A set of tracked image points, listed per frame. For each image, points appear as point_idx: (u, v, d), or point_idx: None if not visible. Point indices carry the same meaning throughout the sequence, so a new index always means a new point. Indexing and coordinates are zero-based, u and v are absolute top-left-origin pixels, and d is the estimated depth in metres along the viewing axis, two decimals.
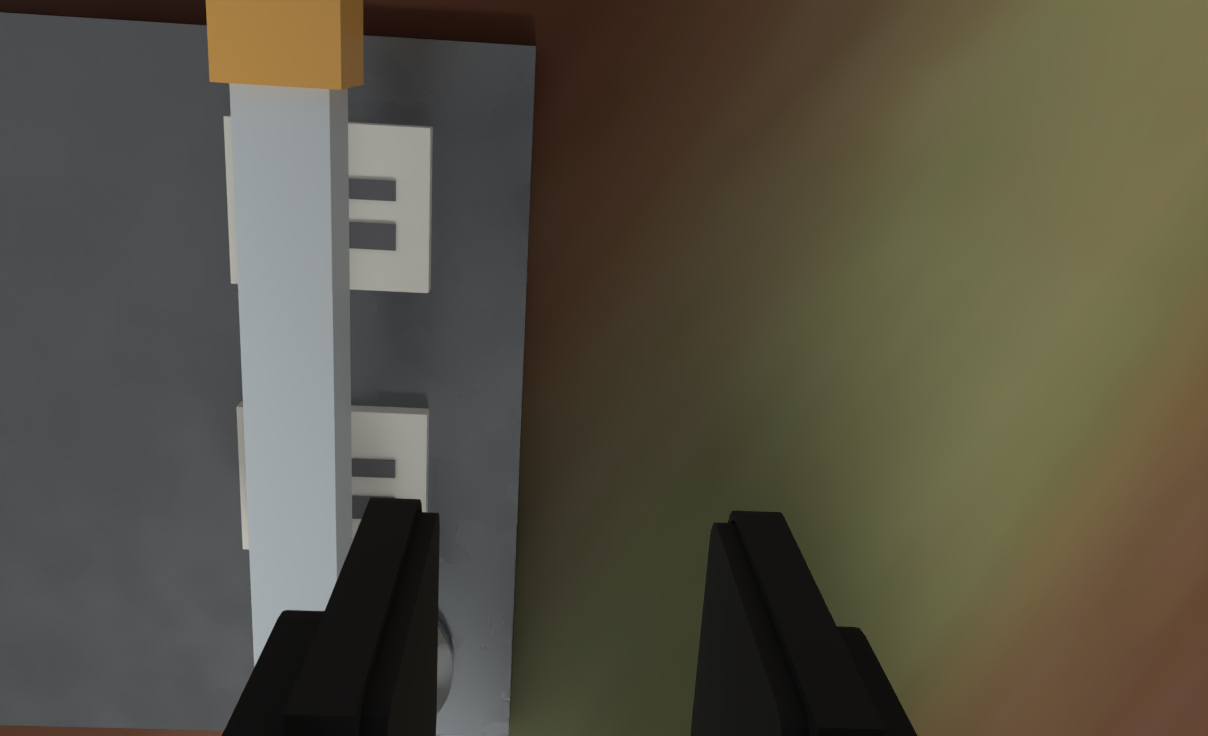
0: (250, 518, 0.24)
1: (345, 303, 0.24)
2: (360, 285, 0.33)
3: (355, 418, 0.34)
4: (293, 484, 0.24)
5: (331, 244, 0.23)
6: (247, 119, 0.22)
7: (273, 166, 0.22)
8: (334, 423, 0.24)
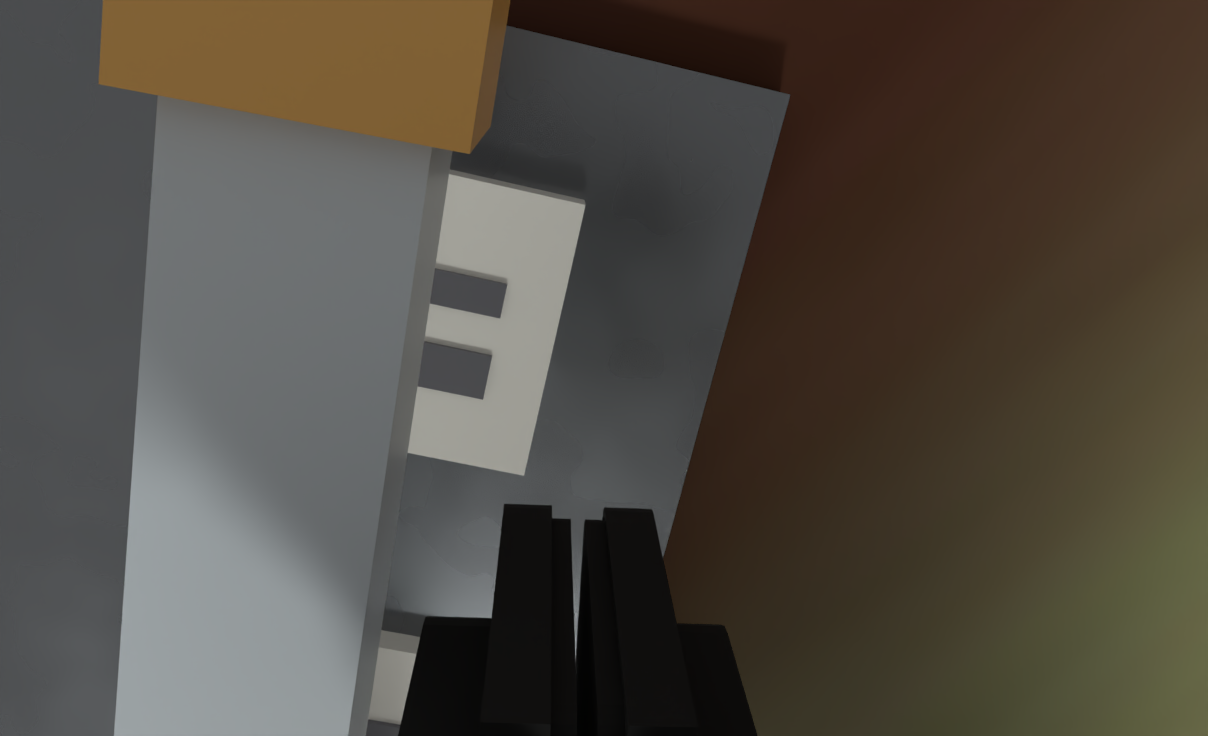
0: None
1: (379, 614, 0.11)
2: (410, 445, 0.19)
3: None
4: None
5: (376, 528, 0.09)
6: (197, 196, 0.08)
7: (252, 325, 0.08)
8: None
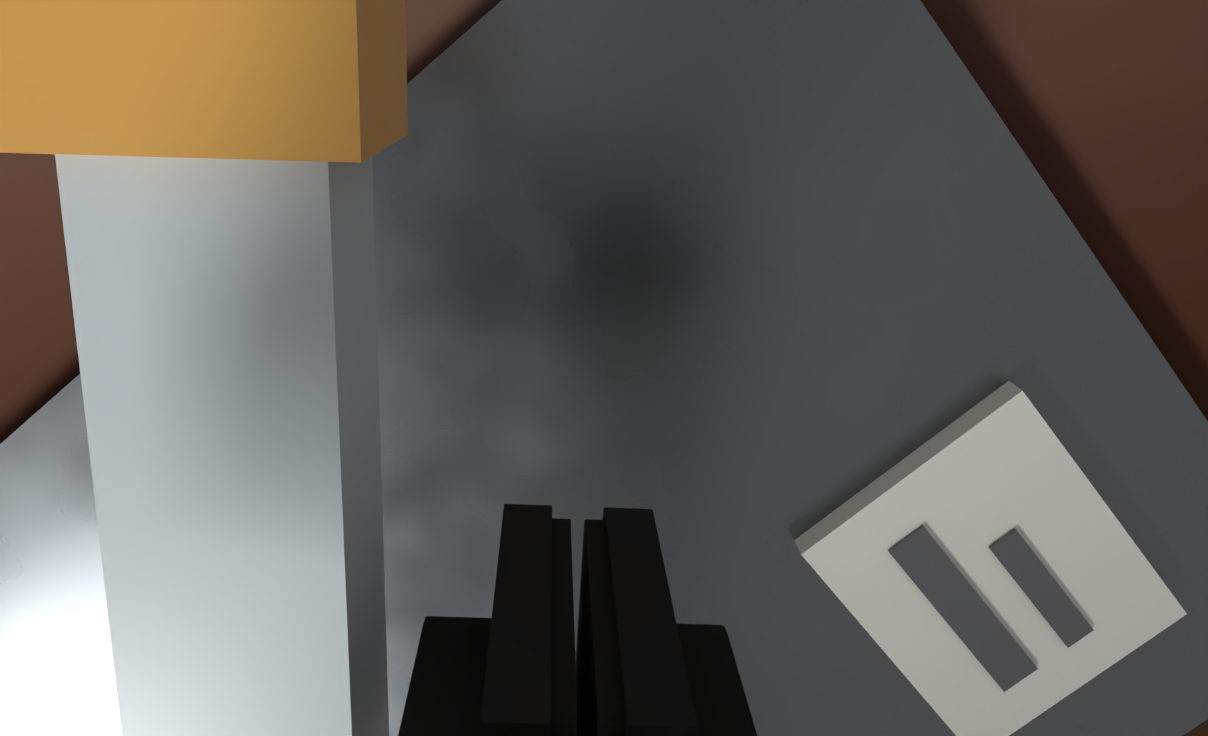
0: None
1: (377, 630, 0.11)
2: (922, 686, 0.21)
3: None
4: None
5: (343, 545, 0.09)
6: (111, 246, 0.08)
7: (186, 364, 0.08)
8: None
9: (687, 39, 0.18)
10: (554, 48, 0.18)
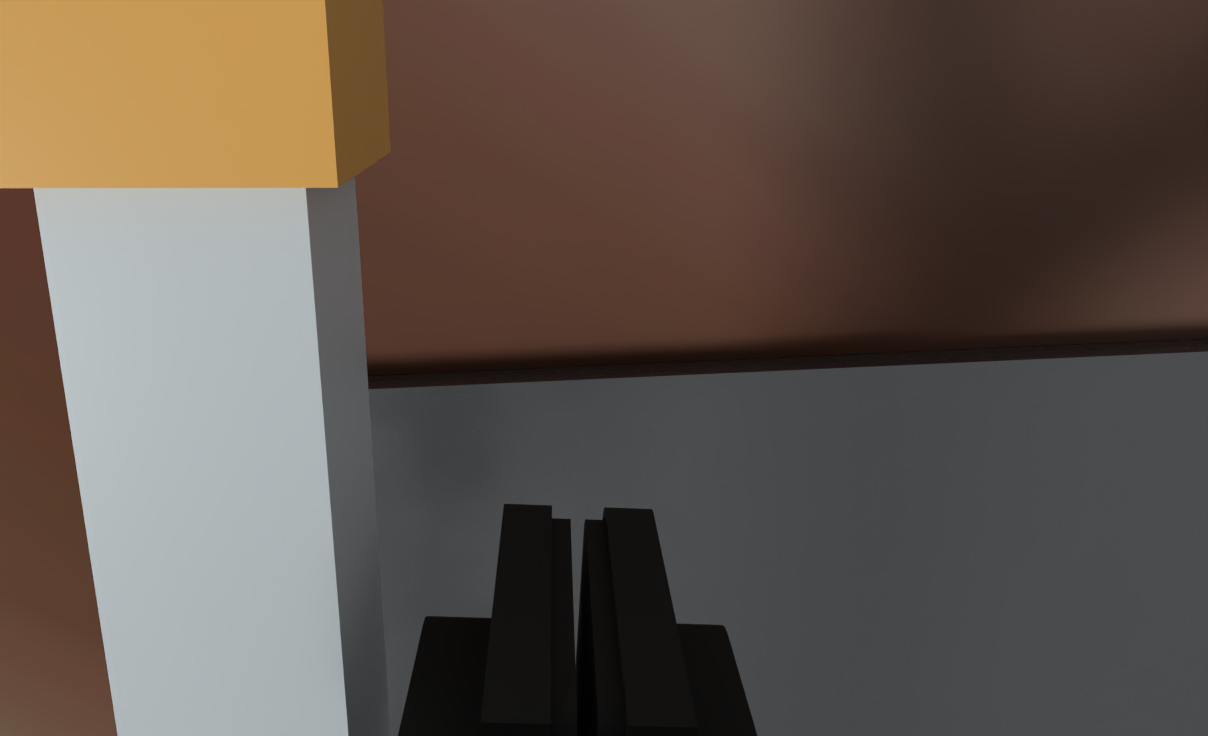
0: None
1: (374, 646, 0.11)
2: None
3: None
4: None
5: (334, 566, 0.09)
6: (92, 276, 0.08)
7: (172, 391, 0.08)
8: None
9: None
10: None
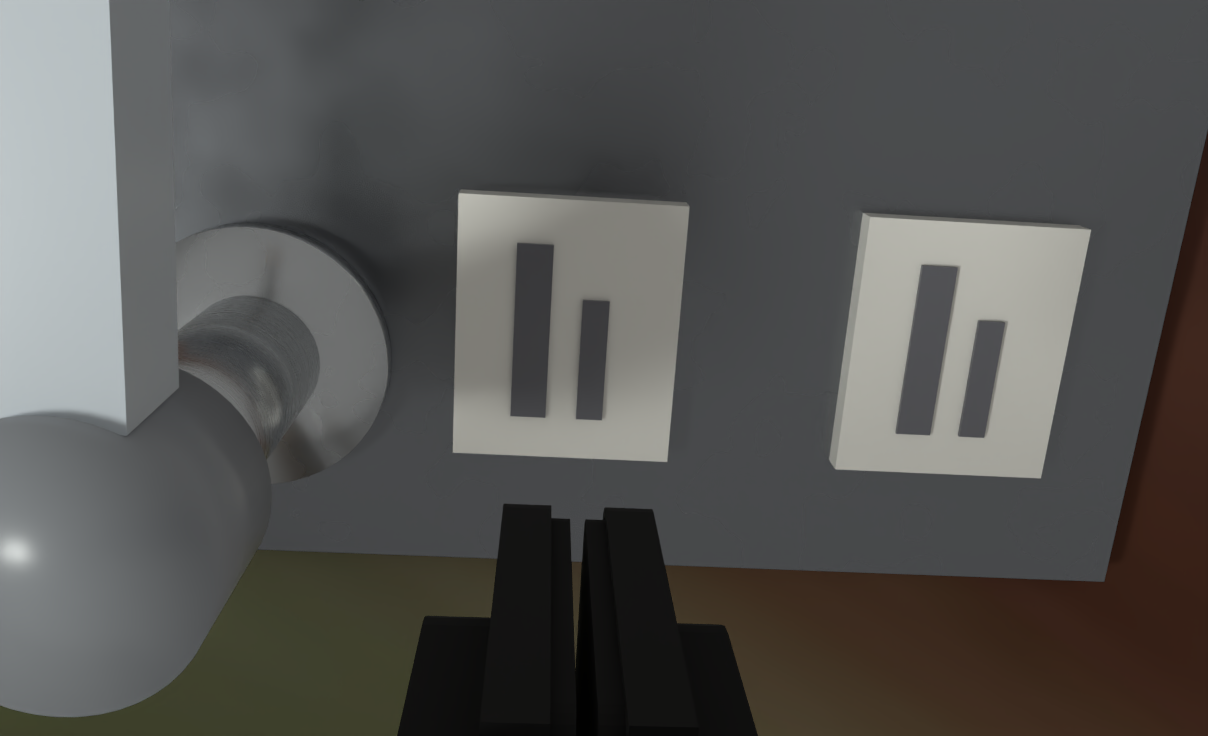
0: None
1: None
2: (852, 385, 0.24)
3: (666, 369, 0.24)
4: None
5: None
6: None
7: None
8: None
9: None
10: None
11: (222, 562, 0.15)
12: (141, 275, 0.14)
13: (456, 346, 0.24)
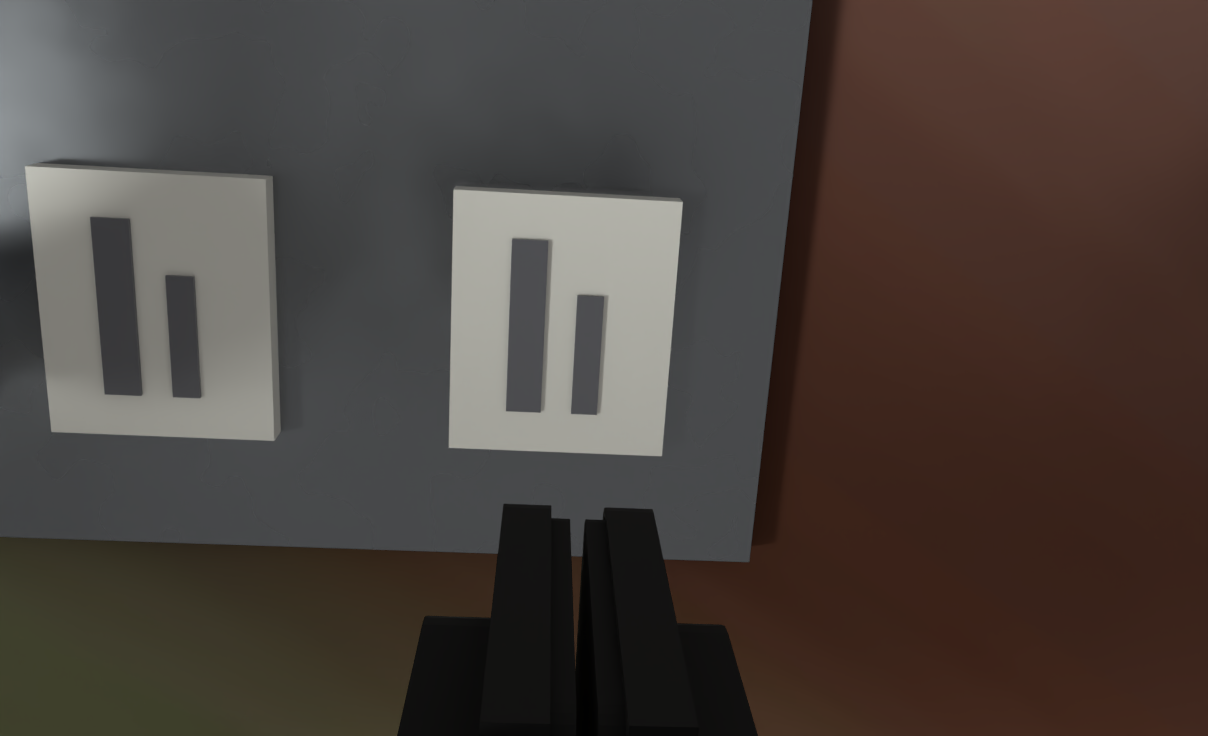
0: None
1: None
2: (456, 362, 0.24)
3: (261, 345, 0.24)
4: None
5: None
6: None
7: None
8: None
9: None
10: None
11: None
12: None
13: (42, 323, 0.23)
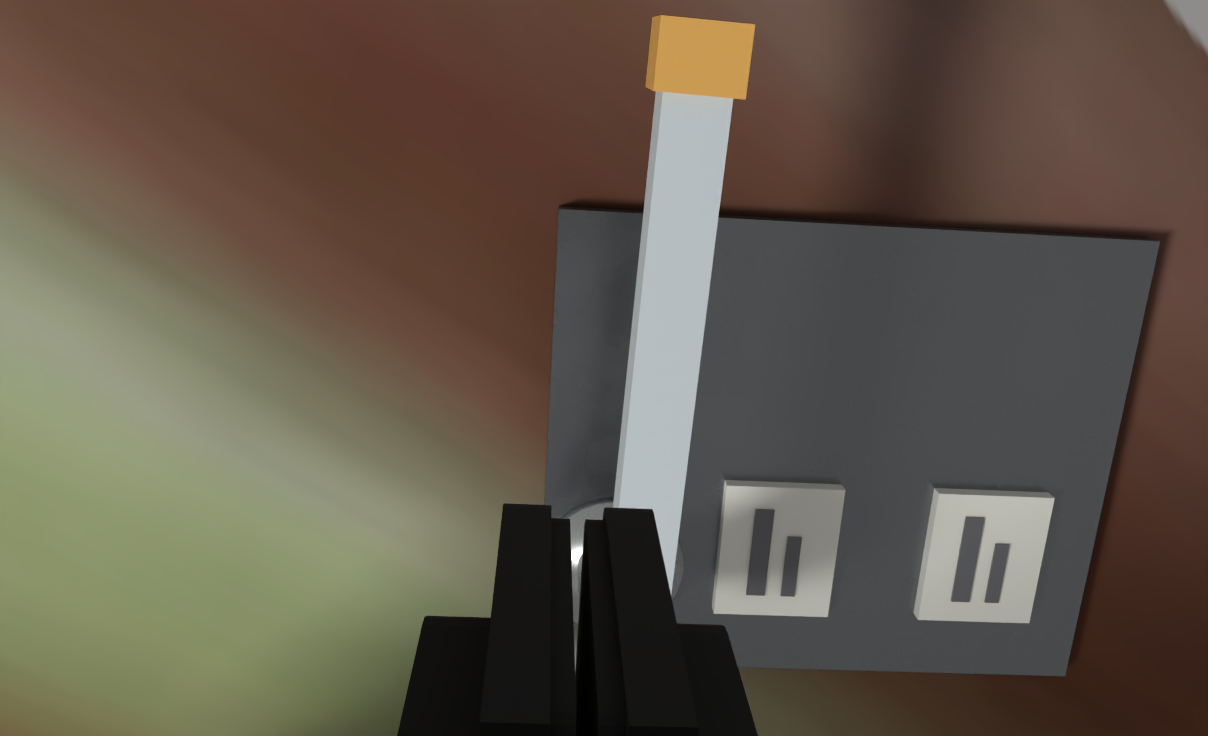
0: (630, 416, 0.32)
1: None
2: (927, 577, 0.46)
3: (829, 570, 0.45)
4: (665, 391, 0.32)
5: (718, 211, 0.31)
6: (671, 118, 0.30)
7: (685, 153, 0.30)
8: (701, 345, 0.32)
9: (1066, 296, 0.43)
10: (1028, 262, 0.42)
11: None
12: None
13: (720, 560, 0.45)
